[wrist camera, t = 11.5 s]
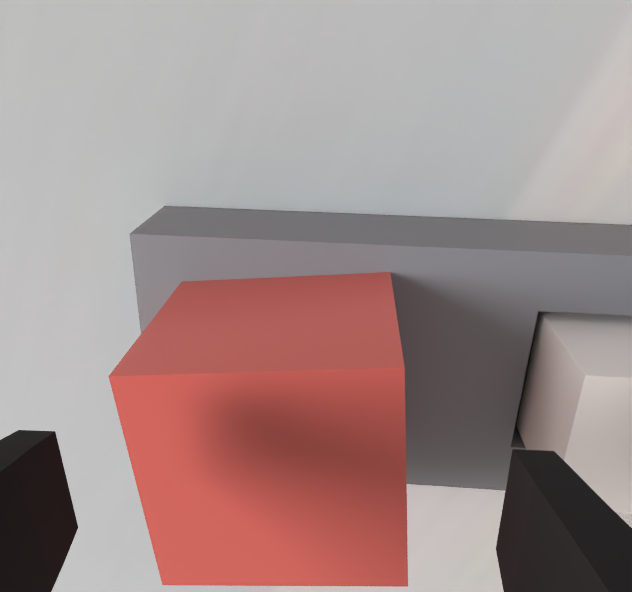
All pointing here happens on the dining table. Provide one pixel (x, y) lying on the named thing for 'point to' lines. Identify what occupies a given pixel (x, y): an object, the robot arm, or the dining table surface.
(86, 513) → the dining table surface
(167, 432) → the cap
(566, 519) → the robot arm
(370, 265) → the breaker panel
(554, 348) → the block
